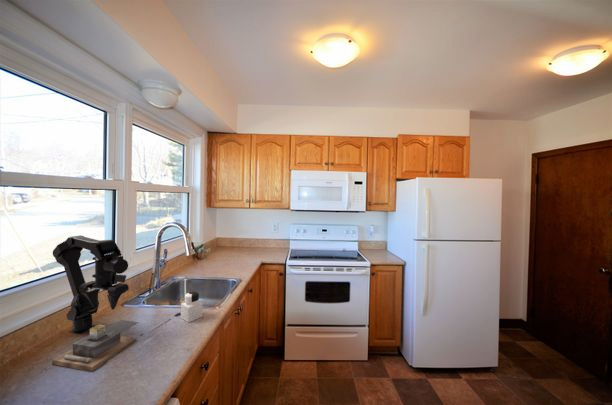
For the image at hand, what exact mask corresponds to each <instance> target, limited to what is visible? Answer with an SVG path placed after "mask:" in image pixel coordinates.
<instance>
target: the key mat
mask: <svg viewBox="0 0 612 405" xmlns="http://www.w3.org/2000/svg"><path fill="white" fill-rule="evenodd" d="M139 323H140V321H134V320H133V321H132V320H131V321H130V320H126V319H125V320H123V319H120V320H118V321H117V322H114V323H112V324H111V325H109V326H107V327H106V330H107V331H114V332H120V334H121V333H123V332H126V330H129V329H131V328H132V327H133V326H136V325H137V324H139Z"/></svg>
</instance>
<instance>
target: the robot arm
mask: <svg viewBox="0 0 612 405" xmlns="http://www.w3.org/2000/svg"><path fill="white" fill-rule="evenodd" d="M83 250H88V251H89V253H90V254H91V255H93V257H92V258H91V259H92V260H93V261H94V271H95V272H94V274H92V278H95V279H94V280H90V281H88V282H86V280H85V277H84V273H83V272H82V268H81V264H80V261H79V260H80V258H81V256H82V251H83ZM52 256H53V257H54V260H55V261H56V263H58V264H59V265H61V266H63V268H64V271H65V275H66V278H67V280H68V284H69V287H70V290H71V293H72V296H73V298H72V300H71V303H70V309H69V311H68V312H67V313H66V320H67V321H68V320H69V321H71V322H72V329H71V330H69V331H68V333H69V334H70V333H72V334H77V335H78V334H79V335H80V334H81V335H82V334H83V333H85V332H87V331H90V328H92V327H95V326H96V325H93V314H96V313H97V312H98V310H99V306H100V302H99V293H100V291H101V290H102V291H107V299H108V303H109V306H110V310H115V308H116V306H117V304H118V303H119V300H120V299H121V298H120V297H121V296H122V295H123V294H124V293H126V292H127V291H129V290H130V289H129V287H130V286H129V284H127V283H126V279H127V274H123V273H125V272H127V270H128V268H129V262H128V261H127V260H126V259H124V256H122V251H121V250H120V248H119V247H118V245H117V243H116V242H115V240H113V239H104V240H98V239H95V238H91V237H86V236H85V235H74V236H69V237H67V238H66V239H65V240H63V242H60V243H59V244H57V245H56V246H55V248H53V250H52Z"/></svg>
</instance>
